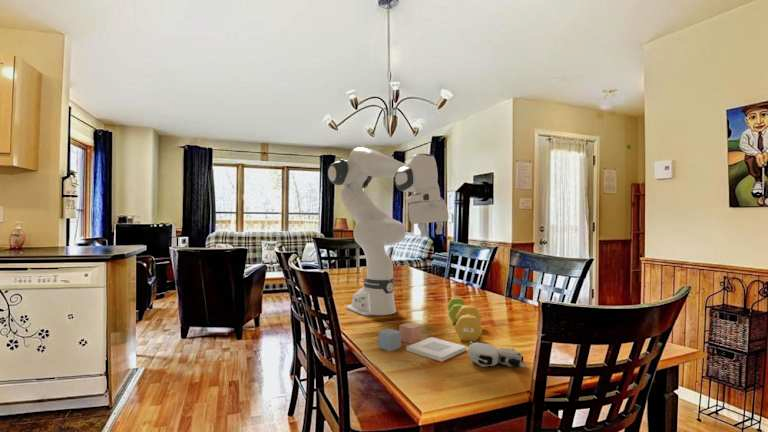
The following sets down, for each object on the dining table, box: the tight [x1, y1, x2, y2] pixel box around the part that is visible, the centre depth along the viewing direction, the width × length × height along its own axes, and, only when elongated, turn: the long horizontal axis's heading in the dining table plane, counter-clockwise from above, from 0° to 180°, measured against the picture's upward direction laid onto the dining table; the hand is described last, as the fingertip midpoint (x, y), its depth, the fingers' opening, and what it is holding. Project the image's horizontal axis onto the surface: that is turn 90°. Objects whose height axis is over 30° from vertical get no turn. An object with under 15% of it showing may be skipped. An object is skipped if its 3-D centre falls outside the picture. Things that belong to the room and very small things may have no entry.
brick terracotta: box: [398, 322, 422, 345], centre depth 130 cm, size 5×5×5 cm
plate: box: [405, 336, 467, 363], centre depth 120 cm, size 13×13×1 cm
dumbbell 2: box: [454, 304, 483, 342], centre depth 137 cm, size 19×9×8 cm, turn 167°
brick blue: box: [377, 328, 402, 352], centre depth 122 cm, size 5×5×5 cm
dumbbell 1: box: [446, 297, 467, 325], centre depth 156 cm, size 16×8×7 cm, turn 173°
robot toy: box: [467, 341, 527, 369], centre depth 110 cm, size 12×4×15 cm
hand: (432, 235), depth 142 cm, fingers open, 8 cm apart
